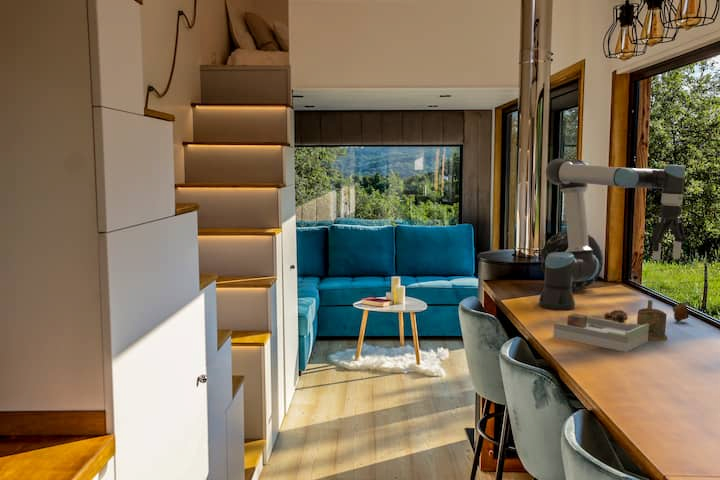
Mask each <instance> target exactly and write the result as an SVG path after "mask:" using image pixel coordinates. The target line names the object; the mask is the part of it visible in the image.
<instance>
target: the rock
mask: <svg viewBox="0 0 720 480" xmlns="http://www.w3.org/2000/svg"><path fill="white" fill-rule="evenodd" d="M685 303H686V304H685ZM685 303H684V302H679V303H678V304H677V305H675V306H672V307H671V308H672V311H673V318H674V320H675V321H677V322H681V321H684V320H687V319H689V311H688V308H687V306H688V307H689V308H690V307H691V301H689V300H688V301H685Z"/></svg>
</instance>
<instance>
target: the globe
mask: <svg viewBox="0 0 720 480" xmlns="http://www.w3.org/2000/svg"><path fill="white" fill-rule="evenodd" d="M588 245H589V247H590V248H591V249H592V250H593V255H594V256H596V258H597V259H598V261H599V270H598V273H597V274H596V275H595V277H594V278H592V279H590V280H586V281H574V282H572V291H580V290H582V289H585V288H587V287H589V286H591V285H592V284H593V283H594V282H595V281H596V280H597V279H598V278H599V276H600V274H601V273H602V269H603V264H604V255H603V251H602V248H601V246H600V244H599V243H598V242H597V240H596V239H595V238H594V237H593V236H591V234H589V233H588ZM567 249H568V234H567V229H566V230H562V231H560V232H557V233H555V234H553V235H552V236H551V237H550V238H549V239H547V241H546V243H545V244H544V246H543V248H542V251H541V254H540V266H541V269H542V272H543V275H545V262H546V257H547V255H548V254H550V253H555V252H565V251H566V250H567Z"/></svg>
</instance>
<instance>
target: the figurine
mask: <svg viewBox="0 0 720 480" xmlns="http://www.w3.org/2000/svg"><path fill="white" fill-rule="evenodd" d="M604 318H605V319H607V320H608V319H611V320H612V321H614V322H619V323H624V324H625V321H627V320H628V314H627V313H626V312H625V311H624V310H621V309H616V310H612V311H610V312H606V313H604Z"/></svg>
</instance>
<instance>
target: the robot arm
mask: <svg viewBox="0 0 720 480" xmlns="http://www.w3.org/2000/svg"><path fill="white" fill-rule="evenodd" d="M545 177H546V178H547V180H548V181H549V182H550V184H553V185H556V186H559V188H560V192H562V194H564V207H565V219H566V230H567V234H568V249H567V250H566V251H565V252H555V253H550V254H548V255H547V257H546V262H545V274H544V282H543V289H542V291H541V294H540V296H539V299H538V306H539V307H541V308H544V309H549V310H557V311H571V310H574V309H575V308H576V302H575V298H574V294H573V290H572V282H574V281H586V280H590V279H592V278H594V277H595V275H596V274H597V273H598V270H599V261H598V259H597V258H596V256H594V255H593V250H592V249H591V248H590V247H589V245H588V234H589V233H588V221H587V220H588V219H587V210H586V196H585V192H586V191H587V190H588V189H589V188H588V185H590V184H591V185H600V186H611V187H620V188H625V189H630V188H631V189H632V188H639V189H640V188H641V189H642V188H643V189H659V190H660V189H662V191H661V199H660V203H661V205H660V213H659V214H660V215H662V217H661V216H657V218H656V221H655V222H656V223H655V226H654V229H653V230H652V233H651V236H650V239H649V241H650V242H651V243H653V247H652V257H651V258H652V259H651V260H655V261H660V260H661V249H662V243H661V242H662V239H663V238H664V236H665V235H666V232H667V231H669V230H671V233H672V235H673V237H674V241H673V247H672V248H673V249H672V250H673V251H672V258H674V259H680V258H681V253H682V252H681V250H682V243H685V242H686V233H685V228H684V223H683V222H684V218H683V216H681V215H682V209H683V207H682V204H683V199H684V187H685V179H686V167H685V166H684V165H679V164H665V165H664V168H663V169H658V168H636V167H635V168H634V167H620V166H619V167H617V166H605V165H604V166H602V165H590V164H589V163H588V162H587V161H586V160H583V159H578V158H555V159H552V160H551V161H550V162H549V163H548V164H547V165H546V168H545Z"/></svg>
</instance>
